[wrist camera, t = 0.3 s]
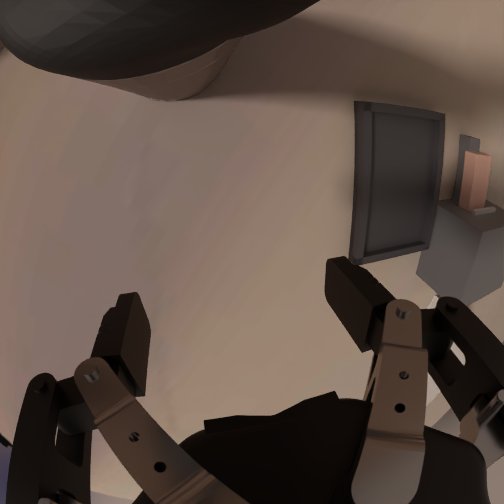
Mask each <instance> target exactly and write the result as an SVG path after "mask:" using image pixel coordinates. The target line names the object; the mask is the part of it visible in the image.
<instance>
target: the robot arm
mask: <svg viewBox="0 0 504 504" xmlns="http://www.w3.org/2000/svg"><path fill="white" fill-rule="evenodd" d="M318 1H320V0H0V39H1V41H2V42H3V44H4V45H5V46H6V48H7V49H8V50H9V51H10V52H11V53H12V54H14V55H15V56H16V57H17V58H19V59H20V60H22V61H23V62H25V63H27V64H29V65H31V66H33V67H36V68H38V69H42V70H45V71H48V72H52V73H56V74H61V75H66V76H70V77H75V78H78V79H83V80H87V81H91V82H95V83H99V84H103V85H107V86H111V87H114V88H118V89H121V90H125V91H128V92H131V93H135V94H138V95H141V96H144V97H147V98H150V99H152V100H157V101H178V100H182V99H186V98H189V97H191V96H193V95H195V94H197V93H199V92H201V91H202V90H203V89H205V88H206V87H207V86H208V85H209V84H210V83H211V82H212V81H213V80H214V79H215V78H216V76H217V75H218V73H219V72H220V70H221V69H222V67H223V66H224V64H225V63H226V61H227V60H228V58H229V57H230V55H231V54H232V52H233V51H234V49H235V48H236V46H237V45H238V43H239V42H240V40H241V39H242V37H243V36H244V35H248V34H251V33H254V32H257V31H260V30H263V29H266V28H268V27H271V26H274V25H276V24H278V23H280V22H283V21H285V20H287V19H289V18H291V17H292V16H294V15H296V14H298V13H300V12H301V11H303V10H305V9H306V8H308V7H310V6H311V5H313V4H315V3H316V2H318ZM325 296H326V300H327V302H328V304H329V305H330V306H331V308H332V309H333V311H334V312H335V314H336V315H337V317H338V318H339V320H340V321H341V322H342V324H343V325H344V327H345V328H346V330H347V331H348V333H349V334H350V336H351V337H352V339H353V340H354V342H355V343H356V345H357V346H358V348H359V349H360V351H361V352H362V353H363V352H366V351H368V350H371V349H372V350H373V352H374V355H373V358H372V363H371V367H370V372H369V377H368V381H367V386H366V390H365V394H364V397H363V400H359V399H350V398H342V399H339V398H338V396H337V394H336V392H335V391H332V392H329V393H326V394H323V395H320V396H316V397H313V398H309V399H306V400H303V401H301V402H300V403H298V404H296V405H294V406H292V407H290V408H288V409H286V410H284V411H282V412H280V413H278V414H276V415H272V416H245V415H235V416H230V417H223V418H217V419H210V420H204V428H205V429H204V430H201V431H199V432H197V433H195V434H193V435H191V436H189V437H188V438H186V439H185V440H184V441H182V442H181V443H180V444H179V445H178V444H177V443H176V442H175V441H174V440H173V439H172V438H171V437H170V436H169V435H168V434H167V433H166V432H165V431H164V430H163V429H162V428H161V427H160V426H159V425H158V424H157V422H156V421H155V420H154V419H153V418H152V417H151V416H150V415H149V414H148V412H147V411H146V410H145V409H144V408H143V407H142V405H141V404H140V403H139V402H138V401H137V400H136V398H135V397H140V396H145V390H146V377H147V366H148V356H149V346H150V338H151V329H150V324H149V320H148V318H147V315H146V312H145V310H144V307H143V304H142V302H141V299H140V296H139V294H138V293H137V292H132V293H126V294H120V295H119V297H118V300H117V303H116V306H115V307H112V308H110V309H109V310H108V311H107V313H106V314H105V315H104V316H103V319H102V322H101V327H100V328H99V331H98V333H99V334H97V337H96V341H95V344H94V347H93V350H92V354H91V357H90V358H89V359H86V360H85V361H83V362H82V363H80V364H79V365H78V367H77V368H76V370H75V373H74V376H73V377H70V378H67V379H63V380H60V381H56V379H55V378H54V377H53V376H52V375H51V374H49V373H41V374H39V375H37V376H35V377H34V378H33V379H32V380H31V381H30V383H29V385H28V387H27V390H26V393H25V397H24V400H23V404H22V407H21V411H20V415H19V419H18V423H17V427H16V432H15V436H14V441H13V446H12V452H11V458H10V465H9V473H8V481H7V493H6V504H91V500H90V463H91V442H92V430H94V429H99V431H100V433H101V434H102V436H103V437H104V439H105V440H106V442H107V443H108V445H109V446H110V448H111V449H112V451H113V452H114V454H115V455H116V456H117V458H118V459H119V460H120V462H121V463H122V465H123V466H124V467H125V468H126V470H127V471H128V472H129V474H130V475H131V476H132V477H133V479H134V480H135V481H136V482H137V484H138V485H139V486H140V487H141V488H142V490H143V491H142V492H141V493H140V495H139V496H138V497H137V498H136V500H135V501H134V502H133V503H132V504H491V503H490V501H489V496H488V490H487V470H486V469H487V468H488V467H489V466H490V465H492V464H493V463H494V462H495V461H497V460H498V459H500V457H502V456H503V455H504V345H503V344H502V343H501V342H500V341H499V340H498V339H497V337H496V336H495V335H494V334H493V333H492V332H491V331H490V330H489V329H488V328H487V327H486V326H485V325H484V324H483V322H482V321H481V320H480V319H479V318H478V317H477V316H476V315H475V314H474V313H473V312H472V311H471V310H470V309H469V308H468V307H467V306H466V305H465V304H464V303H463V302H461V301H460V300H459V299H457V298H454V297H450V296H445V297H441V298H440V299H438V301H437V304H436V307H435V308H432V309H420V308H419V307H418V306H417V305H416V304H415V303H413V302H411V301H409V300H405V299H396V298H395V297H394V296H393V295H392V294H391V293H390V292H389V291H388V290H387V289H386V288H385V287H384V286H383V285H382V284H381V283H379V282H378V280H377V279H376V278H375V277H374V278H373V275H372V274H371V273H370V272H369V271H368V270H367V269H364V268H362V267H360V266H358V265H353V264H352V263H351V262H350V261H349V260H348V259H347V258H346V257H345V256H341V257H336V258H331V259H328V260H327V262H326V275H325ZM453 342H454V343H455V344H456V346H457V347H458V348H459V349H460V350H461V352H462V353H463V354H464V356H465V366H464V365H463V364H462V363H461V361H460V360H459V359H458V358H457V356H456V355H455V354H454V353H453V351H452V350H451V347H452V344H453ZM428 373H429V375H430V376H431V377H432V379H433V380H434V382H435V383H436V385H437V386H438V388H439V389H440V391H441V393H442V394H443V396H444V397H445V399H446V400H447V402H448V403H449V405H450V406H451V408H452V410H453V411H454V413H455V414H456V416H457V418H458V419H459V421H460V435H459V437H456V436H453V435H450V434H447V433H444V432H441V431H439V430H436V429H433V428H431V427H428V426H425V425H424V422H425V412H426V400H427V381H428ZM57 427H58V433H57V440H56V446H55V435H56V429H57Z"/></svg>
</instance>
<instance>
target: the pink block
mask: <svg viewBox="0 0 504 504" xmlns="http://www.w3.org/2000/svg"><path fill="white" fill-rule="evenodd" d="M491 161H492V156H490V155H487V154H484V153H480V152H473V151H465V161H464V171H463V179H462V186H461V193H460V199H459V205H458V206H459V207H460V208H462V209H464V210H466V211H468V212H469V213H471V211H472V209H478V208H484V207H485V201H486V196H487V190H488V184H489V177H490V170H491Z"/></svg>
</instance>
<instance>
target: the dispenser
mask: <svg viewBox="0 0 504 504" xmlns="http://www.w3.org/2000/svg"><path fill="white" fill-rule="evenodd" d="M479 148H480V139H477V138H474V137H471V136H465V135H460V143H459V156H458V167H457V176H456V183H455V191H454V197H453V199H450V200H440V201H438V204H437V210H436V216H435V221H434V227H433V232H432V236H431V241H430V246H429V249H426V250H422V252H421V256H420V260H419V264H418V268H417V272H416V274H417V275H418V276H419V277H420V278H421V279H422V280H423V281H425V282H426V283H427V284H428V285H429V286H430V287H431V288H432V289H433V290H434V291H435V292H436V293H437V294H438V295H439V296H440V297H445V296H450V297H454V298H457V299H459V300H460V301H461V302H463V303H464V304H465V305H466V306H468V305H470V304H471V303H473V302H475V301H477V300H479V299H481V298H483V297H484V296H486V295H488V294H490V293H491V292H493V291H495V290H497V289H498V288H500V287H501V286H502V283H503V281H504V210H503V209H502V208H500V207H498V206H496V205H494V204H493V203H491V202H489V201H487V200H486V201H485V207H484V208H478V209H472V211H471V213H469V212H468V211H466V210H464V209H462V208H460V207H459V206H458V205H459V199H460V193H461V186H462V179H463V171H464V161H465V151H473V152H479Z"/></svg>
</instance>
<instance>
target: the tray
mask: <svg viewBox="0 0 504 504" xmlns="http://www.w3.org/2000/svg"><path fill="white" fill-rule="evenodd" d="M354 114H355V169H354V195H353V212H352V226H351V238H350V248H349V258H348V259H349V260H350V261H351V262H352V263H353V264H354V265H363V264H367V263H372V262H376V261H380V260H385V259H389V258H393V257H398V256H402V255H406V254H410V253H414V252H418V251H422V250H426V249H429V246H430V241H431V236H432V232H433V227H434V221H435V216H436V210H437V204H438V197H439V190H440V183H441V174H442V164H443V152H444V134H445V114H443V113H438V112H433V111H428V110H423V109H417V108H411V107H405V106H398V105H391V104H383V103H374V102H363V101H354Z"/></svg>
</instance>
